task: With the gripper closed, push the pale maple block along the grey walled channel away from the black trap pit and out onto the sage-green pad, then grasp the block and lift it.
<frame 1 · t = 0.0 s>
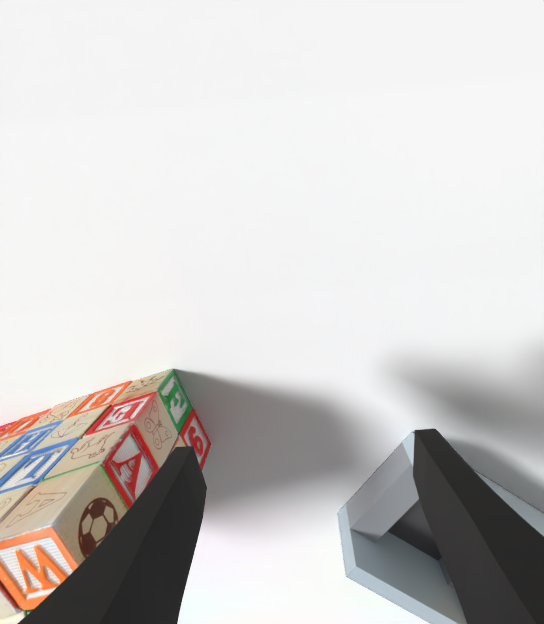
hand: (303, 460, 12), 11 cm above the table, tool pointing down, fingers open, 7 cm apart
trap channel: (499, 549, 25), on the table
stack of blocks: (62, 445, 26), on the table
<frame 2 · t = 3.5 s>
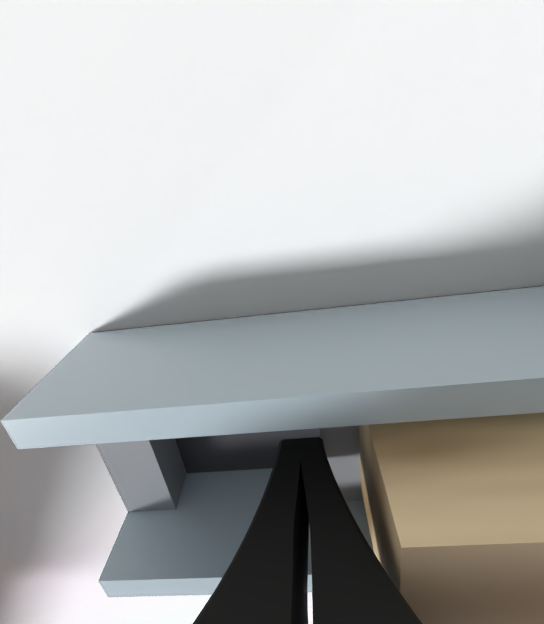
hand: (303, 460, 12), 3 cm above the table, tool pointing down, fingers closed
trap channel: (395, 397, 14), on the table
maple block: (435, 435, 12), point 2 cm above the table, touching gripper
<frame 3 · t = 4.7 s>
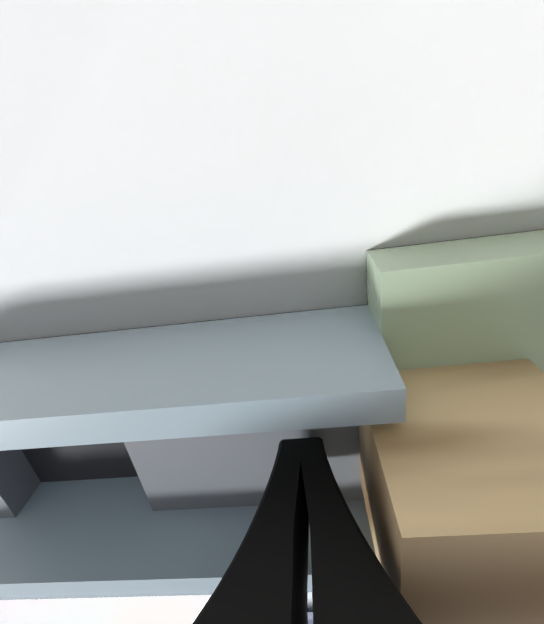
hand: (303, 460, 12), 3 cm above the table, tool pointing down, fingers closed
trap channel: (219, 411, 14), on the table
maple block: (435, 428, 12), point 2 cm above the table, touching gripper, trap channel
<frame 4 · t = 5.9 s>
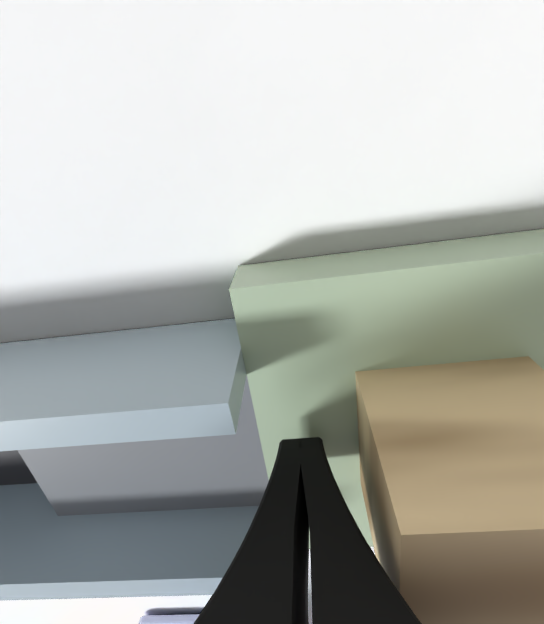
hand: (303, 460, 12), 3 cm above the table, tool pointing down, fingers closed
trap channel: (123, 419, 15), on the table
maple block: (435, 426, 12), point 2 cm above the table, touching gripper, trap channel
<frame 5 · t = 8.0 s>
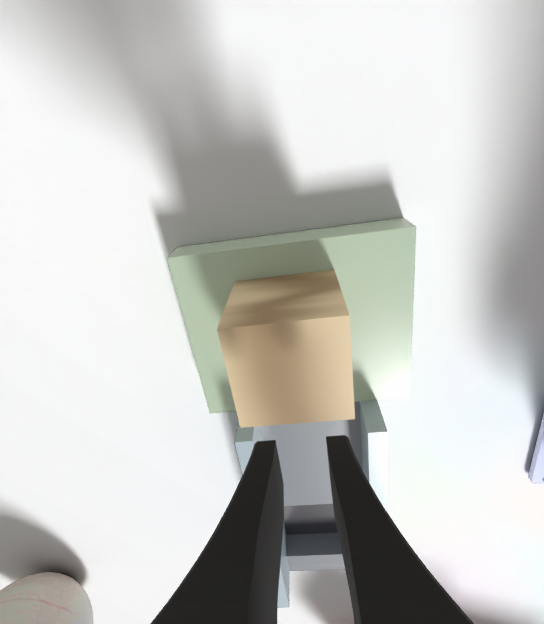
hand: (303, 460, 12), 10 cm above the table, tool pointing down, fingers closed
trap channel: (314, 451, 26), on the table
eye model: (62, 577, 35), on the table
maple block: (289, 319, 19), point 2 cm above the table, touching trap channel
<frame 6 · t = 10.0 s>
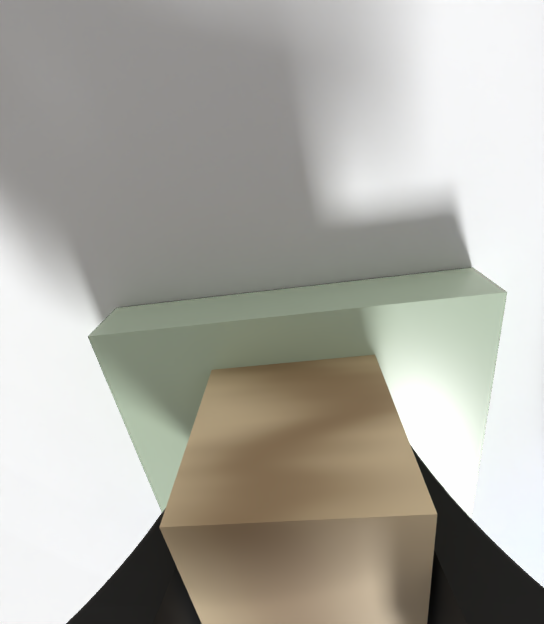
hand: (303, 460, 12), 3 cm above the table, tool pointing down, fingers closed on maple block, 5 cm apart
trap channel: (322, 566, 19), on the table
maple block: (300, 424, 12), point 2 cm above the table, touching gripper, trap channel
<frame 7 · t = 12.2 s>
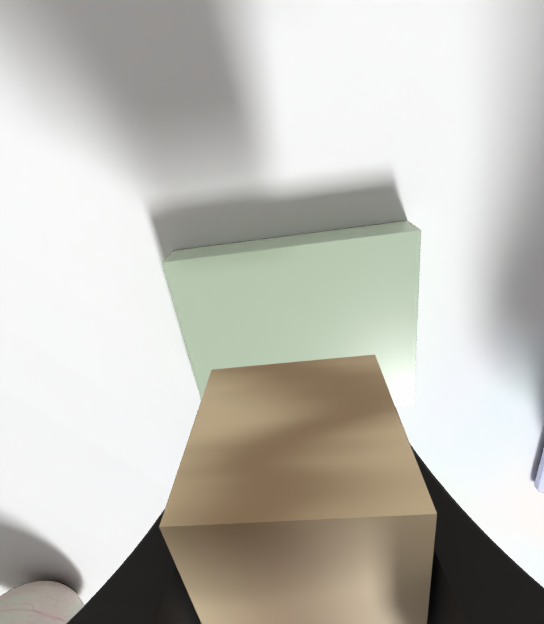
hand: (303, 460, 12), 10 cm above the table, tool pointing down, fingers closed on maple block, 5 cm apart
trap channel: (314, 459, 25), on the table
eye model: (58, 585, 34), on the table
maple block: (300, 424, 12), point 9 cm above the table, touching gripper
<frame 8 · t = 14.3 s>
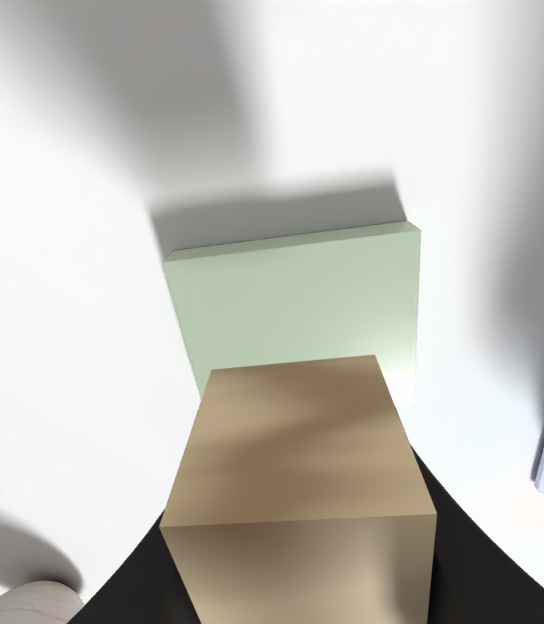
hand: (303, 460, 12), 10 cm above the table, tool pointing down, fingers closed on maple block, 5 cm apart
trap channel: (314, 459, 25), on the table
eye model: (58, 585, 34), on the table
maple block: (300, 424, 12), point 9 cm above the table, touching gripper
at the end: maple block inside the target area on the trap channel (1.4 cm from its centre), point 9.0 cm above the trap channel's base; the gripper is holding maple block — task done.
